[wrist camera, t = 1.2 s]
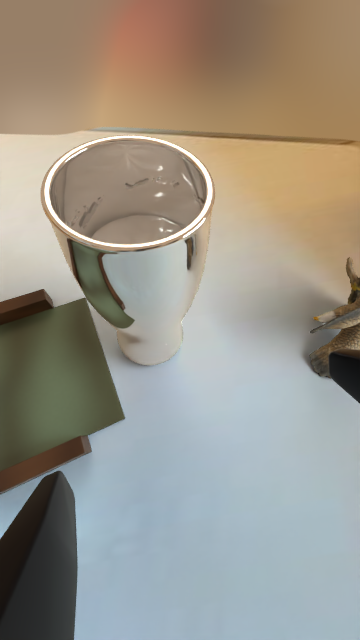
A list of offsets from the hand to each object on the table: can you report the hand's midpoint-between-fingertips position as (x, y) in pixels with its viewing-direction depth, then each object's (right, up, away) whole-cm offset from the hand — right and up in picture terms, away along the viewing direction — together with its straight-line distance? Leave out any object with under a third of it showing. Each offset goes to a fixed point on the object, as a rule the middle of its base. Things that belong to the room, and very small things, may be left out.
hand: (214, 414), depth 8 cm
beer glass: (-4, +1, +15) cm, 16 cm away
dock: (-16, -3, +12) cm, 21 cm away
